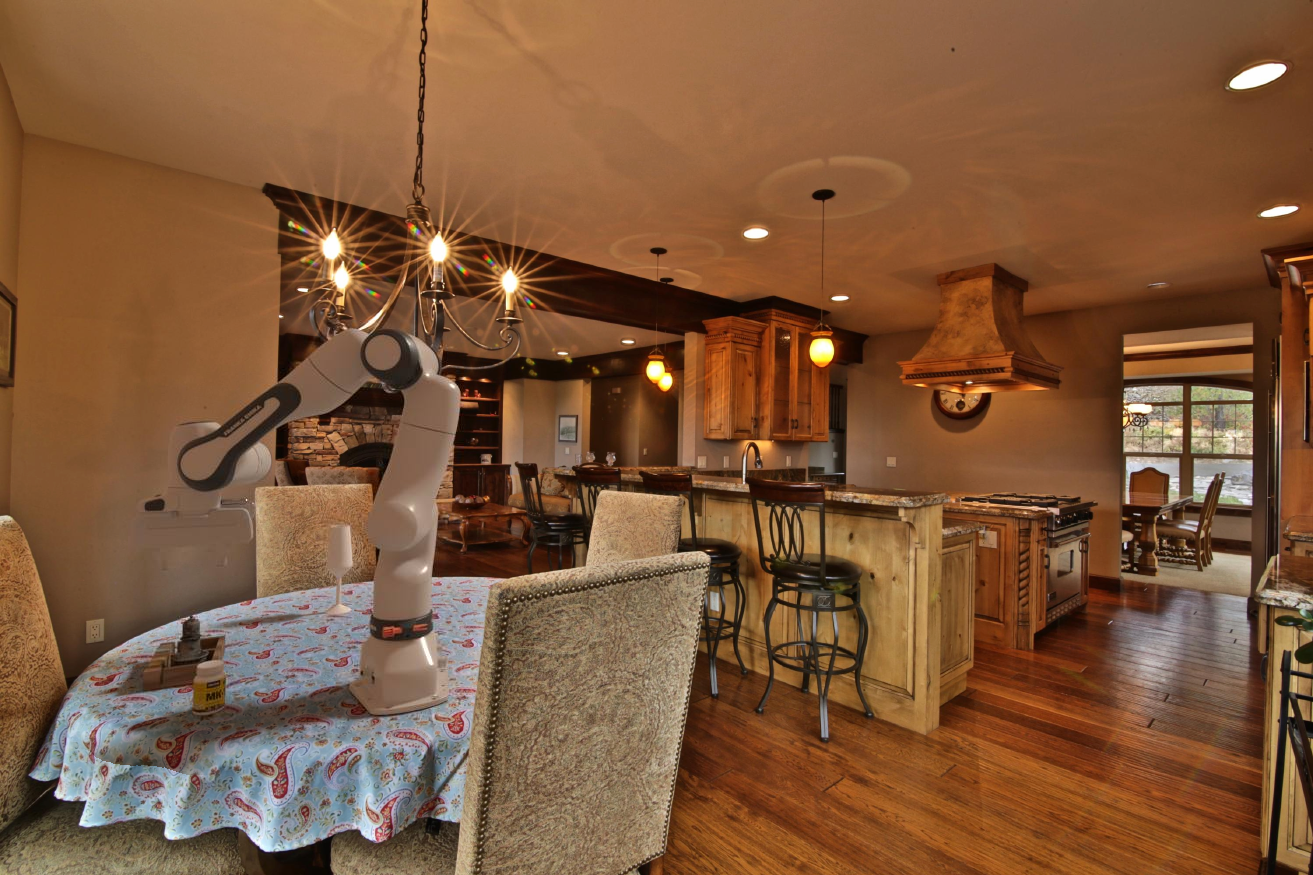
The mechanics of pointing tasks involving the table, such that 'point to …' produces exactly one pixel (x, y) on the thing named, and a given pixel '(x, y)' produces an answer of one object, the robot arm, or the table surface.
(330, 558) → the champagne flute
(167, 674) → the divided sorting tray
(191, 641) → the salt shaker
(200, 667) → the supplement bottle
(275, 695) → the table surface
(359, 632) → the table surface
